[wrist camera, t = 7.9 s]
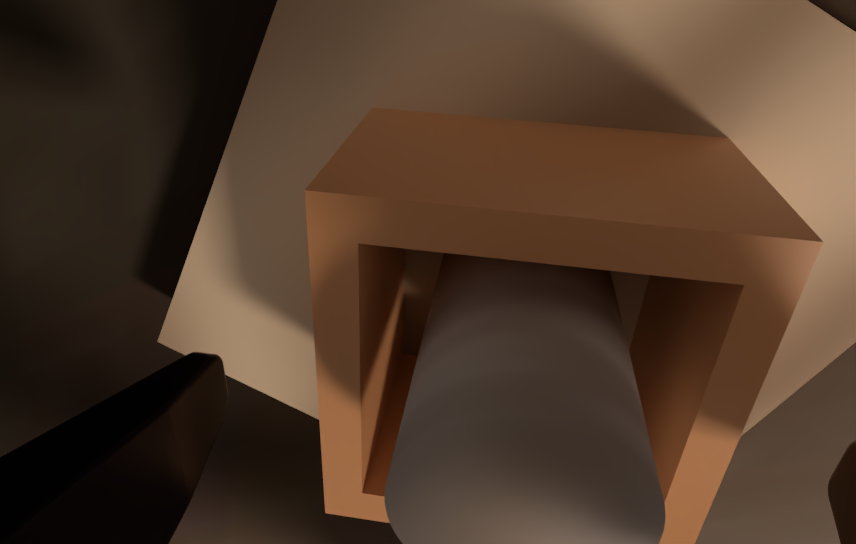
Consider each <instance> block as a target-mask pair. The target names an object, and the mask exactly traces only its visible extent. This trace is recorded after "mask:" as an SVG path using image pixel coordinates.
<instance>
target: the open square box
mask: <svg viewBox="0 0 856 544" xmlns="http://www.w3.org/2000/svg"><path fill="white" fill-rule="evenodd" d="M305 205H306V220H307V236H308V251H309V267H310V283H311V298H312V314H313V330H314V345H315V361H316V376H317V392H318V408H319V423H320V439H321V455H322V470H323V486H324V502H325V513H327V514H334V515H340V516H347V517H353V518H360V519H366V520H373V521H379V522H386V523H390V522H389V519H388V516H387V513H386V508H385V486H386V481H387V477H388V473H389V469H390V465H391V461H392V457H393V453H394V449H395V445H396V441H397V437H398V433H399V429H400V425H401V421H402V417H403V413H404V409H405V405H406V401H407V397H408V393H409V389H410V385H411V381H412V377H413V373H414V369H415V365H416V361H417V357H418V356H415V355H407V354H402V344H403V310H404V275H405V249H414V250H423V251H432V252H442V253H451V254H460V255H469V256H479V257H488V258H497V259H506V260H516V261H525V262H534V263H544V264H553V265H562V266H571V267H581V268H590V269H599V270H608V271H618V272H627V273H636V274H646V275H650V276H649V280H648V283H647V287H646V291H645V294H644V298H643V302H642V305H641V309H640V313H639V317H638V320H637V324H636V328H635V331H634V335H633V339H632V342H631V346H630V350H629V353H630V358H631V362H632V366H633V371H634V375H635V379H636V384H637V388H638V392H639V396H640V401H641V405H642V409H643V414H644V418H645V422H646V427H647V431H648V435H649V439H650V444H651V448H652V452H653V457H654V461H655V465H656V469H657V474H658V478H659V482H660V487H661V491H662V495H663V500H664V504H665V516H666V518H665V526H664V531H663V534H662V537H661V540H660V542H659V544H695V542H696V539H697V537H698V535H699V532H700V530H701V528H702V525H703V523H704V521H705V518H706V516H707V514H708V511H709V509H710V507H711V504H712V502H713V500H714V497H715V495H716V493H717V490H718V488H719V486H720V483H721V481H722V479H723V476H724V474H725V472H726V469H727V467H728V465H729V462H730V460H731V457H732V455H733V453H734V450H735V448H736V446H737V443H738V441H739V439H740V436H741V434H742V432H743V429H744V427H745V425H746V422H747V420H748V418H749V415H750V413H751V411H752V408H753V406H754V404H755V401H756V399H757V397H758V394H759V392H760V390H761V387H762V385H763V383H764V380H765V378H766V376H767V373H768V371H769V369H770V366H771V364H772V362H773V359H774V357H775V355H776V352H777V350H778V348H779V345H780V343H781V341H782V338H783V336H784V333H785V331H786V329H787V326H788V324H789V322H790V319H791V317H792V315H793V312H794V310H795V308H796V305H797V303H798V301H799V298H800V296H801V294H802V291H803V289H804V287H805V284H806V282H807V280H808V277H809V275H810V273H811V270H812V268H813V266H814V263H815V261H816V259H817V256H818V254H819V252H820V249H821V247H822V245H823V241H822V240H821V239H820V238H819V236H818V235H817V234H816V233H815V232H814V231H813V230H812V229H811V228H810V227H809V226H808V224H807V223H806V222H805V221H804V220H803V219H802V218H801V217H800V216H799V215H798V213H797V212H796V211H795V210H794V209H793V208H792V207H791V206H790V205H789V204H788V202H787V201H786V200H785V199H784V198H783V197H782V196H781V195H780V194H779V193H778V191H777V190H776V189H775V188H774V187H773V186H772V185H771V184H770V183H769V182H768V180H767V179H766V178H765V177H764V176H763V175H762V174H761V173H760V172H759V171H758V169H757V168H756V167H755V166H754V165H753V164H752V163H751V162H750V161H749V160H748V158H747V157H746V156H745V155H744V154H743V153H742V152H741V151H740V150H739V149H738V147H737V146H736V145H735V144H734V143H733V142H732V141H731V140H730V139H729V138H724V137H712V136H701V135H689V134H677V133H665V132H653V131H642V130H630V129H618V128H606V127H595V126H583V125H571V124H559V123H548V122H536V121H524V120H512V119H501V118H489V117H477V116H465V115H453V114H442V113H430V112H418V111H406V110H395V109H383V108H371V110H370V111H369V112H368V113H367V115H366V116H365V117H364V118H363V119H362V121H361V122H360V123H359V124H358V126H357V127H356V128H355V129H354V130H353V132H352V133H351V134H350V135H349V137H348V138H347V139H346V140H345V141H344V143H343V144H342V145H341V146H340V148H339V149H338V150H337V151H336V152H335V154H334V155H333V156H332V157H331V159H330V160H329V161H328V162H327V163H326V165H325V166H324V167H323V168H322V170H321V171H320V172H319V173H318V174H317V176H316V177H315V178H314V179H313V181H312V182H311V183H310V184H309V185H308V187H307V188H306V189H305Z"/></svg>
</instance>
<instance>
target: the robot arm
mask: <svg viewBox="0 0 856 544" xmlns="http://www.w3.org/2000/svg"><path fill="white" fill-rule="evenodd" d="M227 406H228V390H227V384H226V377H225V371H224V365H223V361H222V359H221V357H220V356H218V355H216V354H210V353H203V352H192V353H190V354H187V355H186V356H184V357H182V358H180V359H178V360H176V361H175V362H173V363H171V364H169V365H167V366H166V367H164V368H162V369H160V370H158V371H156V372H155V373H153V374H151V375H149V376H147V377H146V378H144V379H142V380H140V381H138V382H136V383H135V384H133V385H131V386H129V387H127V388H126V389H124V390H122V391H120V392H118V393H116V394H115V395H113V396H111V397H109V398H107V399H106V400H104V401H102V402H100V403H98V404H96V405H95V406H93V407H91V408H89V409H87V410H86V411H84V412H82V413H80V414H78V415H76V416H75V417H73V418H71V419H69V420H67V421H66V422H64V423H62V424H60V425H58V426H56V427H55V428H53V429H51V430H49V431H47V432H46V433H44V434H42V435H40V436H38V437H36V438H35V439H33V440H31V441H29V442H27V443H26V444H24V445H22V446H20V447H18V448H16V449H15V450H13V451H11V452H9V453H7V454H6V455H4V456H2V457H0V544H169V542H170V540H171V538H172V536H173V534H174V532H175V530H176V528H177V526H178V525H179V523H180V521H181V519H182V517H183V515H184V513H185V511H186V509H187V507H188V505H189V503H190V501H191V498H192V496H193V494H194V491H195V489H196V487H197V484H198V482H199V479H200V476H201V474H202V471H203V469H204V466H205V464H206V461H207V459H208V456H209V454H210V451H211V449H212V446H213V444H214V441H215V438H216V436H217V433H218V431H219V428H220V426H221V423H222V421H223V418H224V416H225V413H226V410H227ZM828 496H829V501H830V504H831V508H832V512H833V516H834V519H835V523H836V527H837V531H838V534H839V538H840V542H841V544H856V440H855V441H853V442H852V443H851V444H850V445H849V446H848V448H847V449H846V451H845V453H844V455H843V457H842V458H841V460H840V462H839V464H838V465H837V467H836V469H835V471H834V472H833V474H832V476H831V478H830V480H829V484H828Z"/></svg>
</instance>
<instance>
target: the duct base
mask: <svg viewBox="0 0 856 544" xmlns="http://www.w3.org/2000/svg"><path fill="white" fill-rule="evenodd" d="M371 108H383V109H395V110H406V111H418V112H430V113H442V114H453V115H465V116H477V117H489V118H501V119H512V120H524V121H536V122H548V123H559V124H571V125H583V126H595V127H606V128H618V129H630V130H642V131H653V132H665V133H677V134H689V135H701V136H712V137H724V138H729V139H730V140H731V141H732V142H733V143H734V144H735V145H736V146H737V147H738V149H739V150H740V151H741V152H742V153H743V154H744V155H745V156H746V157H747V158H748V160H749V161H750V162H751V163H752V164H753V165H754V166H755V167H756V168H757V169H758V171H759V172H760V173H761V174H762V175H763V176H764V177H765V178H766V179H767V180H768V182H769V183H770V184H771V185H772V186H773V187H774V188H775V189H776V190H777V191H778V193H779V194H780V195H781V196H782V197H783V198H784V199H785V200H786V201H787V202H788V204H789V205H790V206H791V207H792V208H793V209H794V210H795V211H796V212H797V213H798V215H799V216H800V217H801V218H802V219H803V220H804V221H805V222H806V223H807V224H808V226H809V227H810V228H811V229H812V230H813V231H814V232H815V233H816V234H817V235H818V236H819V238H820V239H821V240H822V241H823V245H822V247H821V249H820V252H819V254H818V256H817V259H816V261H815V263H814V266H813V268H812V270H811V273H810V275H809V277H808V280H807V282H806V284H805V287H804V289H803V291H802V294H801V296H800V298H799V301H798V303H797V305H796V308H795V310H794V312H793V315H792V317H791V319H790V322H789V324H788V326H787V329H786V331H785V333H784V336H783V338H782V341H781V343H780V345H779V348H778V350H777V352H776V355H775V357H774V359H773V362H772V364H771V366H770V369H769V371H768V373H767V376H766V378H765V380H764V383H763V385H762V387H761V390H760V392H759V394H758V397H757V399H756V401H755V404H754V406H753V408H752V411H751V413H750V415H749V418H748V420H747V422H746V425H745V427H744V429H743V432H742V434H741V436H742V435H743V434H744V433H746V432H747V431H748V430H749V429H750V428H752V427H753V426H754V425H755V424H756V423H758V422H759V421H760V420H761V419H763V418H764V417H765V416H766V415H767V414H769V413H770V412H771V411H772V410H774V409H775V408H776V407H777V406H778V405H780V404H781V403H782V402H783V401H784V400H786V399H787V398H788V397H789V396H791V395H792V394H793V393H794V392H795V391H797V390H798V389H799V388H800V387H801V386H803V385H804V384H805V383H806V382H808V381H809V380H810V379H811V378H812V377H814V376H815V375H816V374H817V373H819V372H820V371H821V370H822V369H823V368H825V367H826V366H827V365H828V364H829V363H831V362H832V361H833V360H834V359H836V358H837V357H838V356H839V355H840V354H842V353H843V352H844V351H845V350H846V349H848V348H849V347H850V346H851V345H853V344H854V343H855V342H856V32H855V31H853V30H852V29H850V28H849V27H847V26H846V25H844V24H843V23H841V22H840V21H838V20H837V19H835V18H834V17H832V16H830V15H829V14H827V13H826V12H824V11H823V10H821V9H820V8H818V7H817V6H815V5H814V4H812V3H811V2H809V1H808V0H277V3H276V6H275V9H274V11H273V14H272V17H271V20H270V23H269V26H268V29H267V31H266V34H265V37H264V40H263V43H262V46H261V48H260V51H259V54H258V57H257V60H256V63H255V65H254V68H253V71H252V74H251V77H250V80H249V83H248V85H247V88H246V91H245V94H244V97H243V100H242V102H241V105H240V108H239V111H238V114H237V117H236V120H235V122H234V125H233V128H232V131H231V134H230V137H229V139H228V142H227V145H226V148H225V151H224V154H223V157H222V159H221V162H220V165H219V168H218V171H217V174H216V176H215V179H214V182H213V185H212V188H211V191H210V194H209V196H208V199H207V202H206V205H205V208H204V211H203V213H202V216H201V219H200V222H199V225H198V228H197V230H196V233H195V236H194V239H193V242H192V245H191V248H190V250H189V253H188V256H187V259H186V262H185V265H184V267H183V270H182V273H181V276H180V279H179V282H178V285H177V287H176V290H175V293H174V296H173V299H172V302H171V304H170V307H169V310H168V313H167V316H166V319H165V322H164V324H163V327H162V330H161V333H160V336H159V339H158V341H157V342H159V343H161V344H163V345H165V346H167V347H169V348H171V349H173V350H176V351H178V352H180V353H182V354H184V355H187V354H190V353H192V352H203V353H210V354H216V355H218V356H220V357H221V359H222V361H223V365H224V371H225V375H227V376H229V377H231V378H234V379H236V380H238V381H240V382H242V383H244V384H246V385H248V386H250V387H252V388H254V389H256V390H258V391H260V392H263V393H265V394H267V395H269V396H271V397H273V398H275V399H277V400H279V401H281V402H283V403H285V404H287V405H289V406H292V407H294V408H296V409H298V410H300V411H302V412H304V413H306V414H308V415H310V416H312V417H314V418H316V419H318V420H319V408H318V392H317V376H316V361H315V345H314V330H313V314H312V298H311V283H310V267H309V251H308V236H307V220H306V205H305V189H306V188H307V187H308V185H309V184H310V183H311V182H312V181H313V179H314V178H315V177H316V176H317V174H318V173H319V172H320V171H321V170H322V168H323V167H324V166H325V165H326V163H327V162H328V161H329V160H330V159H331V157H332V156H333V155H334V154H335V152H336V151H337V150H338V149H339V148H340V146H341V145H342V144H343V143H344V141H345V140H346V139H347V138H348V137H349V135H350V134H351V133H352V132H353V130H354V129H355V128H356V127H357V126H358V124H359V123H360V122H361V121H362V119H363V118H364V117H365V116H366V115H367V113H368V112H369V111H370V110H371ZM649 276H650V275H646V274H636V273H627V272H618V271H608V270H599V269H590V268H581V267H571V266H562V265H553V264H544V263H534V262H525V261H516V260H506V259H497V258H488V257H479V256H469V255H460V254H451V253H442V252H432V251H423V250H414V249H405V275H404V310H403V344H402V354H407V355H415V356H418V357H417V361H416V365H415V369H414V373H413V377H412V381H411V385H410V389H409V393H408V397H407V401H406V405H405V409H404V413H403V417H402V421H401V425H400V429H399V433H398V437H397V441H396V445H395V449H394V453H393V457H392V461H391V465H390V469H389V473H388V477H387V481H386V486H385V508H386V513H387V516H388V519H389V522H390V524H391V527H392V528H393V530H394V532H395V534H396V535H397V537H398V538H399V540H400V541H401V542H402V544H659V542H660V540H661V537H662V534H663V531H664V526H665V518H666V516H665V504H664V500H663V495H662V491H661V487H660V482H659V478H658V474H657V469H656V465H655V461H654V457H653V452H652V448H651V444H650V439H649V435H648V431H647V427H646V422H645V418H644V414H643V409H642V405H641V401H640V396H639V392H638V388H637V384H636V379H635V375H634V371H633V366H632V362H631V358H630V353H629V350H630V346H631V342H632V339H633V335H634V331H635V328H636V324H637V320H638V317H639V313H640V309H641V305H642V302H643V298H644V294H645V291H646V287H647V283H648V280H649ZM741 436H740V437H741Z"/></svg>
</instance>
